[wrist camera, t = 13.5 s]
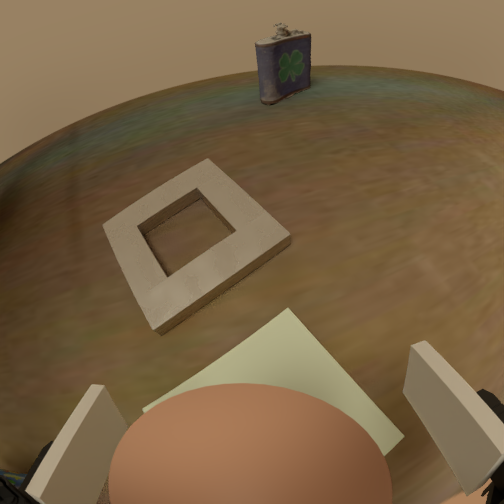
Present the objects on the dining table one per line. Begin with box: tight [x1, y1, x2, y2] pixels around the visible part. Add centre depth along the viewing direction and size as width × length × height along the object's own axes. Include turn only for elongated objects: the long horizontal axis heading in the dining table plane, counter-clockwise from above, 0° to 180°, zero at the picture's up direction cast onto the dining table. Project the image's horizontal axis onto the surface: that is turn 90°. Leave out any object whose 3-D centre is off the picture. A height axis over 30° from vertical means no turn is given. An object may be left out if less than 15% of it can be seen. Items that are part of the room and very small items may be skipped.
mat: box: [142, 308, 404, 456], centre depth 15 cm, size 13×13×1 cm
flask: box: [255, 23, 311, 105], centre depth 32 cm, size 10×3×12 cm, turn 132°
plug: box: [108, 383, 392, 504], centre depth 9 cm, size 5×5×14 cm
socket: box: [103, 158, 290, 336], centre depth 24 cm, size 13×13×2 cm
